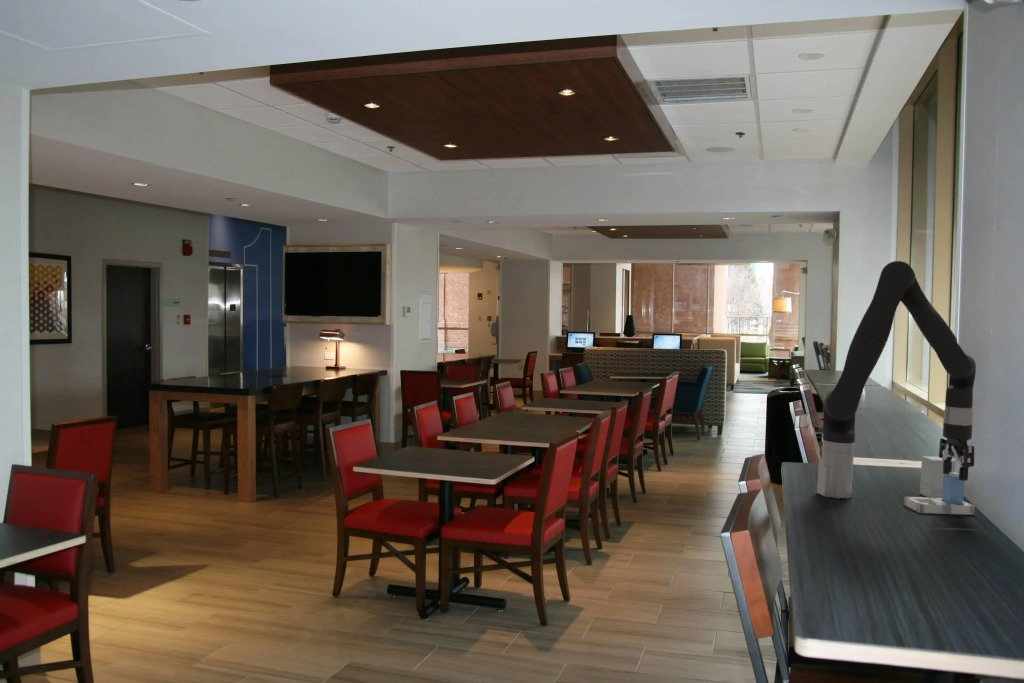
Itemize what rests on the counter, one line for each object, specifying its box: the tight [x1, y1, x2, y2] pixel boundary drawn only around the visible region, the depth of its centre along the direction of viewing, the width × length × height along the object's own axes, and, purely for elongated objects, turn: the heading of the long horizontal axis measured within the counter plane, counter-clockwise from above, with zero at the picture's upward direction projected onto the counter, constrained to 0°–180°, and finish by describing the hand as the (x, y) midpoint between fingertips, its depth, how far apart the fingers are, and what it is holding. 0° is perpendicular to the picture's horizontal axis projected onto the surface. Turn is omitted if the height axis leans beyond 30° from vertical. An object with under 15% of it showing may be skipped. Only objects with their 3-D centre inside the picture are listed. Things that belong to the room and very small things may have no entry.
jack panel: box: [903, 496, 975, 516], centre depth 247 cm, size 16×9×3 cm, turn 91°
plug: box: [942, 471, 965, 504], centre depth 246 cm, size 4×4×11 cm
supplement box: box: [919, 455, 957, 498], centre depth 265 cm, size 7×7×13 cm
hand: (955, 477), depth 246 cm, fingers open, 8 cm apart
